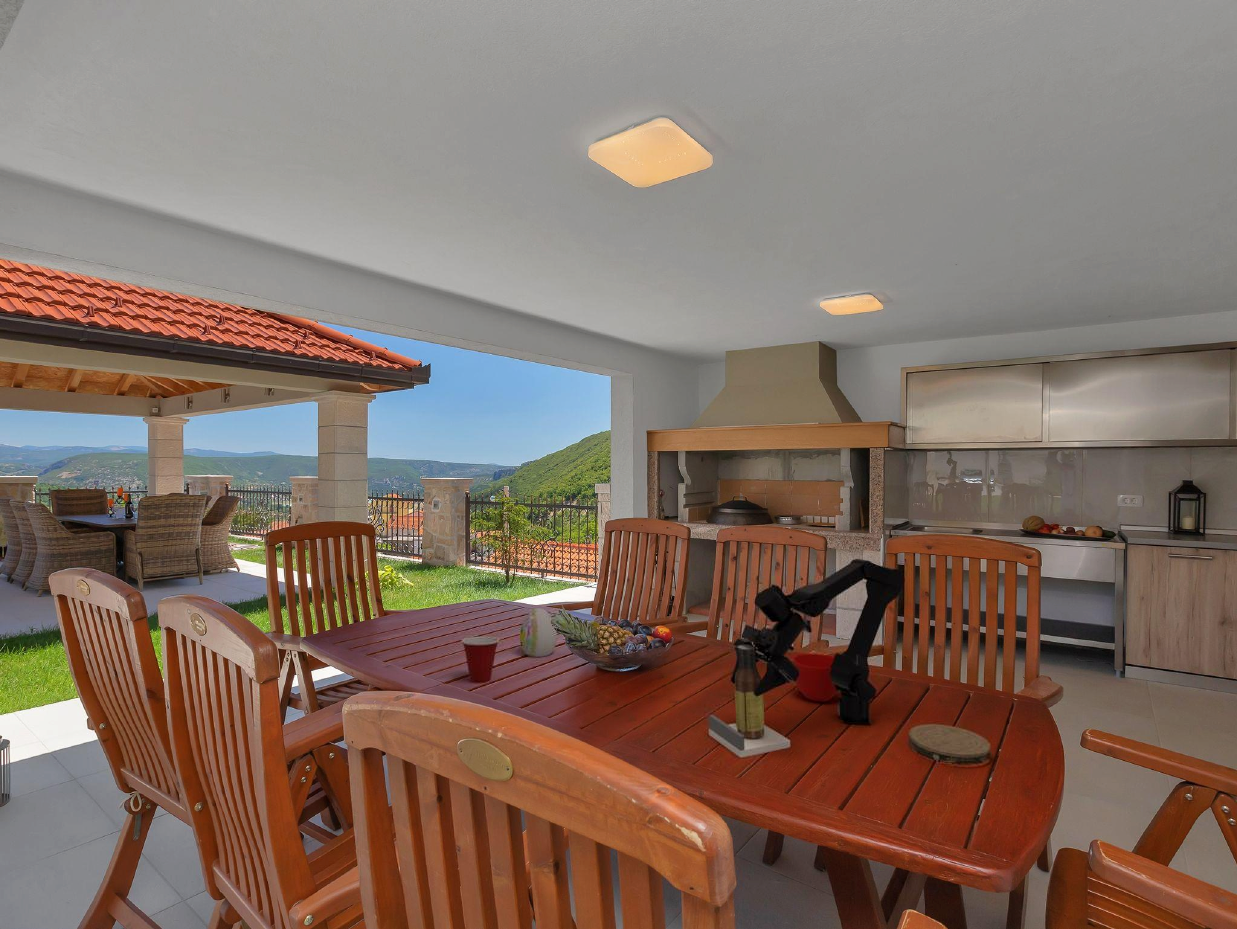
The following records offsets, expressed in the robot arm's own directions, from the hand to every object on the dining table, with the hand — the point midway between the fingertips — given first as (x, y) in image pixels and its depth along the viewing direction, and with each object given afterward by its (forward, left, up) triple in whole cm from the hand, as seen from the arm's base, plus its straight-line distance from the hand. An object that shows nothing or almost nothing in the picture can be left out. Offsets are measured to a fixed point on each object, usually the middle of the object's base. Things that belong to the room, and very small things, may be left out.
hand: (743, 688), depth 147 cm
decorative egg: (+66, -59, -12) cm, 89 cm away
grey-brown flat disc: (-44, -3, -13) cm, 46 cm away
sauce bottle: (-1, -1, -11) cm, 11 cm away
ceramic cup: (-22, -32, -12) cm, 41 cm away
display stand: (-1, -1, -12) cm, 12 cm away
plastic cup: (+75, -31, -12) cm, 82 cm away
